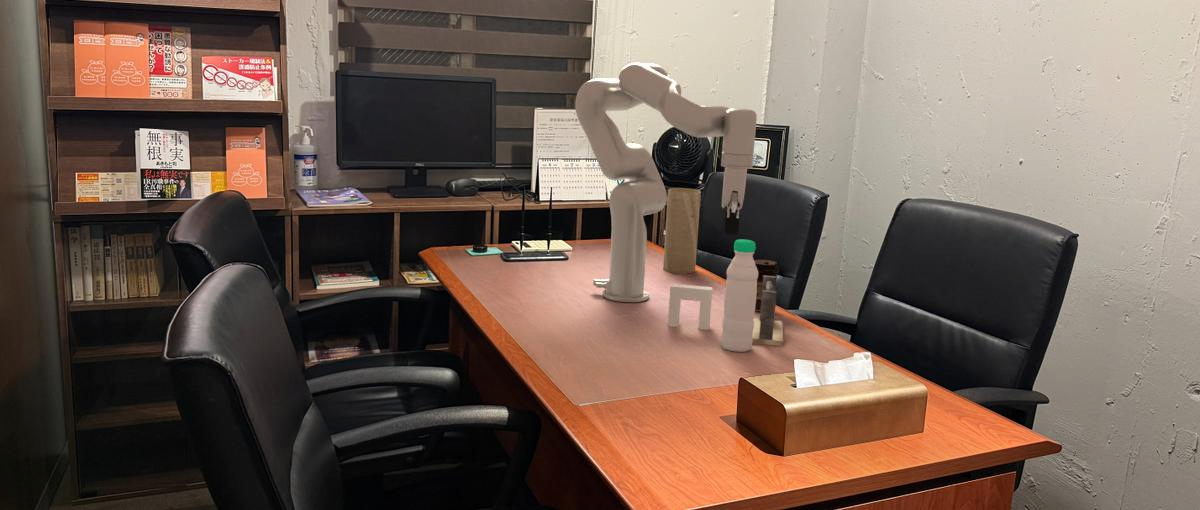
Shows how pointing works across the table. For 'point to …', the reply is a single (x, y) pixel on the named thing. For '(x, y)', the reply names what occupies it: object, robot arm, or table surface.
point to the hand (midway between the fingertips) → (731, 230)
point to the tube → (681, 230)
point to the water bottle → (740, 298)
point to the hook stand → (768, 317)
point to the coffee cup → (763, 269)
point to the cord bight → (695, 295)
